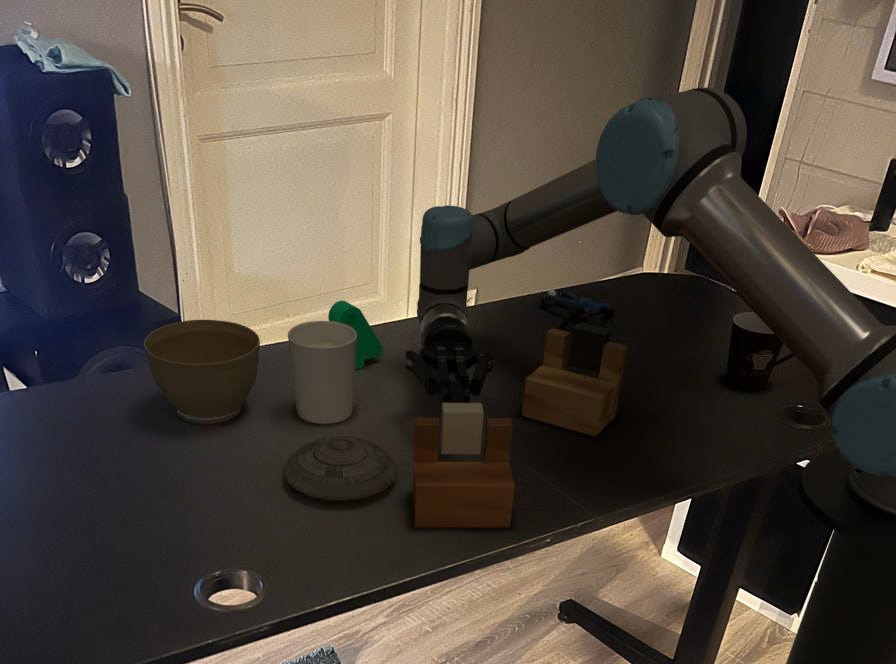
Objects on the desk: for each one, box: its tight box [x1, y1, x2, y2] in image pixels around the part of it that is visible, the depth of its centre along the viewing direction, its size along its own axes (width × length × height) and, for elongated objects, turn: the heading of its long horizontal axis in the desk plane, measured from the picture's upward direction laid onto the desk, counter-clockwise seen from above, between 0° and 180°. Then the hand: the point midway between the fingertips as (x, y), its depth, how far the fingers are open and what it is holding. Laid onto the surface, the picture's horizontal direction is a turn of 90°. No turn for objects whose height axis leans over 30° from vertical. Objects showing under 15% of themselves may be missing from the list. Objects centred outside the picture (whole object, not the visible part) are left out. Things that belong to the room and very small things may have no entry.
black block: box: [567, 321, 612, 374], centre depth 144 cm, size 3×5×6 cm, turn 60°
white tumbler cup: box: [287, 320, 357, 425], centre depth 141 cm, size 10×10×12 cm
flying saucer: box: [283, 435, 398, 502], centre depth 128 cm, size 15×15×6 cm
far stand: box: [521, 327, 629, 437], centre depth 143 cm, size 8×12×11 cm, turn 60°
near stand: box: [411, 417, 516, 528], centre depth 121 cm, size 8×12×11 cm, turn 93°
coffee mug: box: [724, 311, 796, 393], centre depth 154 cm, size 12×9×10 cm
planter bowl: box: [143, 319, 261, 425], centre depth 141 cm, size 16×16×11 cm
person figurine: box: [540, 289, 615, 330], centre depth 175 cm, size 11×4×18 cm
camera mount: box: [327, 300, 383, 370], centre depth 156 cm, size 12×8×10 cm, turn 128°
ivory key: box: [439, 402, 485, 455], centre depth 122 cm, size 3×5×6 cm, turn 93°
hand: (457, 411), depth 127 cm, fingers closed
